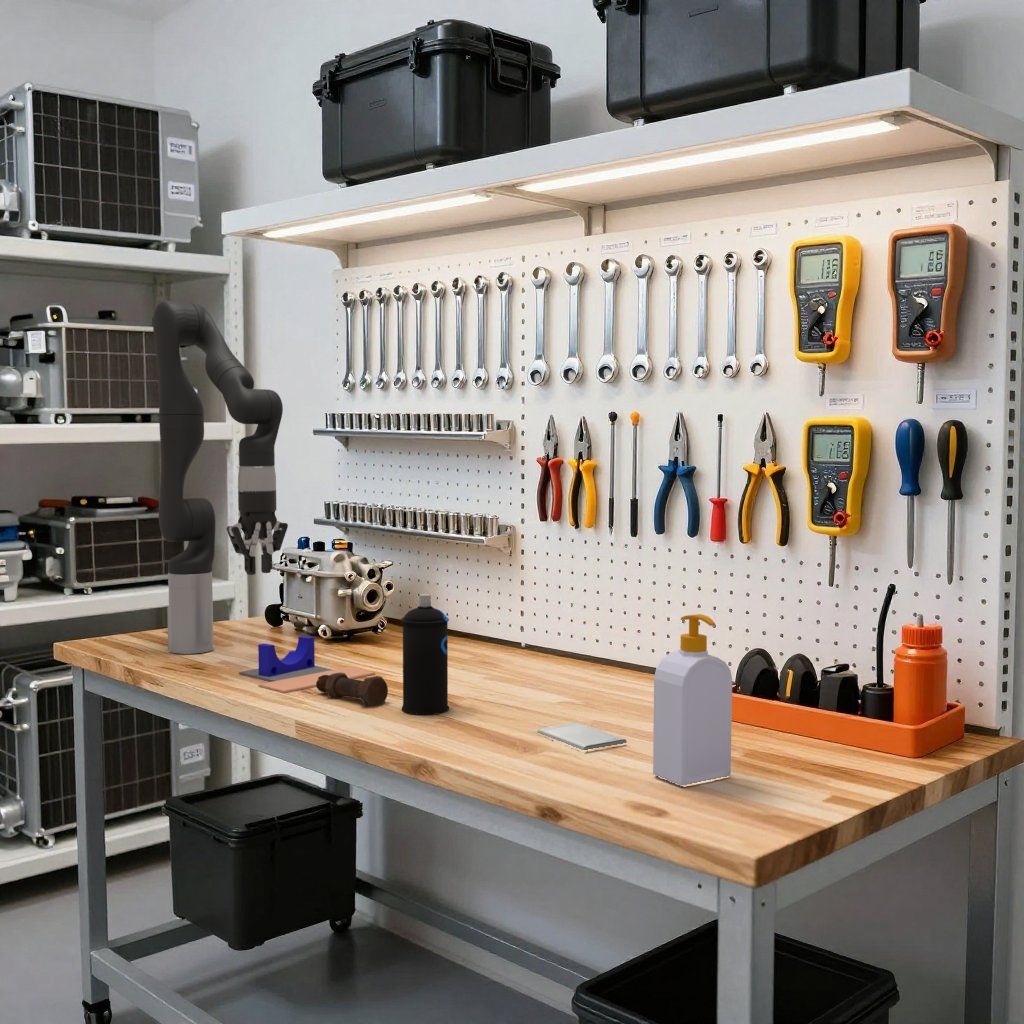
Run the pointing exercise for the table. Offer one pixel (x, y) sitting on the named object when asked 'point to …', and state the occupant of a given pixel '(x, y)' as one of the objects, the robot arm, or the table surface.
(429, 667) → the aerosol can
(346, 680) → the bolt
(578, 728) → the hard drive
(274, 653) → the blue cradle block
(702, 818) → the table surface
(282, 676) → the t mat
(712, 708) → the soap bottle
